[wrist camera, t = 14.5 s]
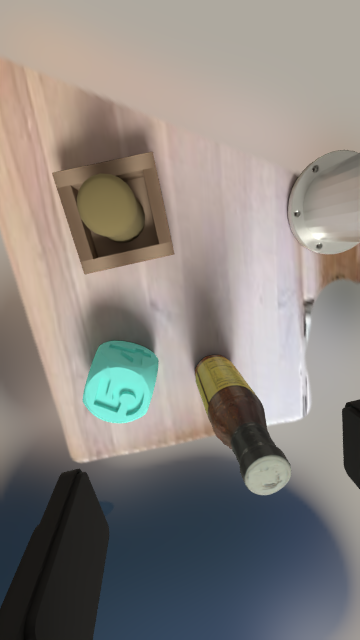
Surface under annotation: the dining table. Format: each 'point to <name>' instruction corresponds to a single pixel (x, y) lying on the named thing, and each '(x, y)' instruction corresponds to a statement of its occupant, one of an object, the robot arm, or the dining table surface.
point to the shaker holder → (146, 189)
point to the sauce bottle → (241, 424)
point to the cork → (110, 208)
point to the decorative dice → (120, 381)
